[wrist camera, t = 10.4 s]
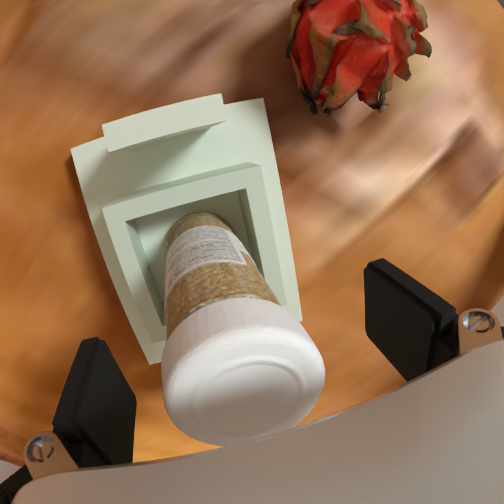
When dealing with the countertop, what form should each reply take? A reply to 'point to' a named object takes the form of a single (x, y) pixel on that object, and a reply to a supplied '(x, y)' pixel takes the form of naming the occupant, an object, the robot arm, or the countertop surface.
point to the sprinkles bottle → (230, 341)
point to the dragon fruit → (353, 48)
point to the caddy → (183, 198)
